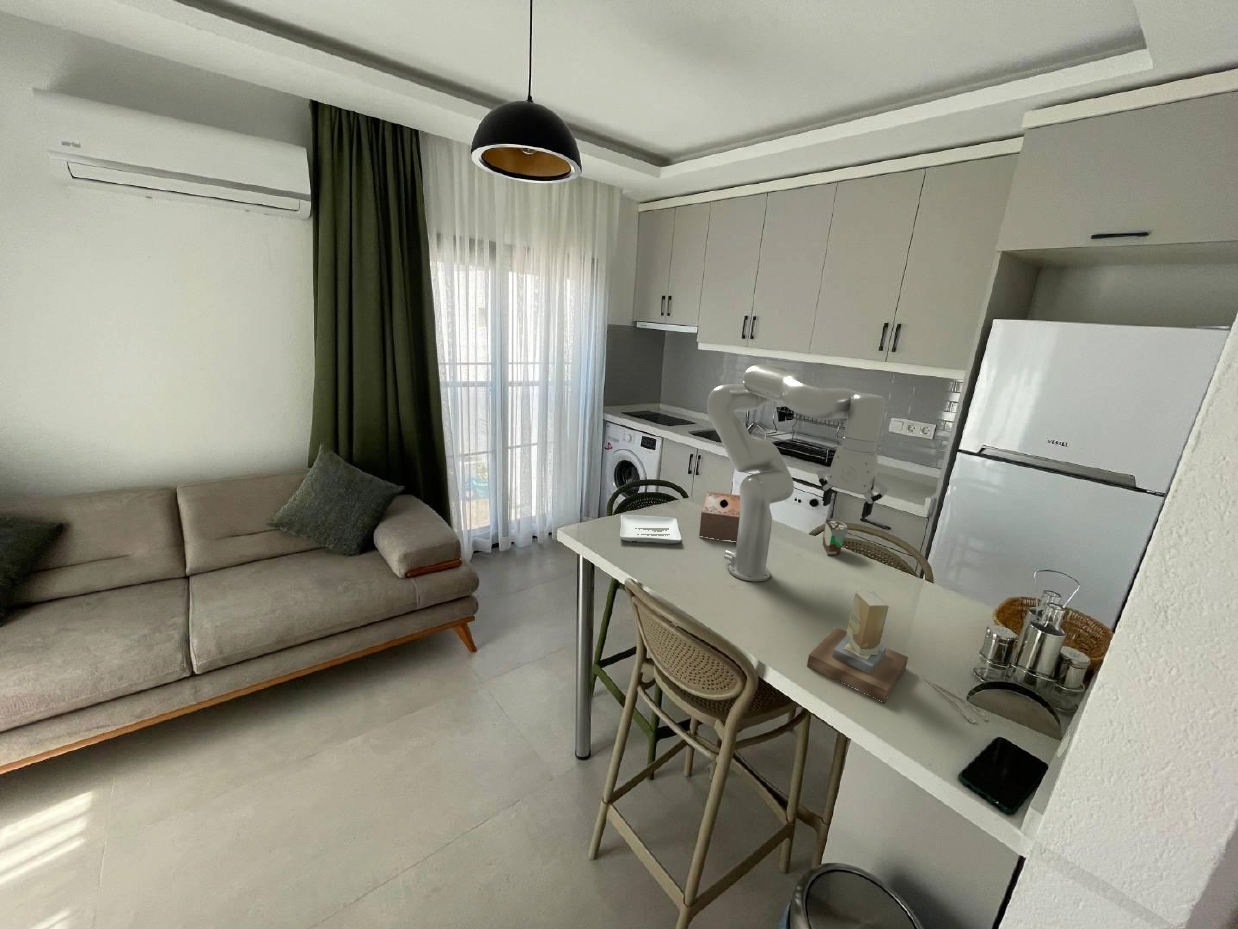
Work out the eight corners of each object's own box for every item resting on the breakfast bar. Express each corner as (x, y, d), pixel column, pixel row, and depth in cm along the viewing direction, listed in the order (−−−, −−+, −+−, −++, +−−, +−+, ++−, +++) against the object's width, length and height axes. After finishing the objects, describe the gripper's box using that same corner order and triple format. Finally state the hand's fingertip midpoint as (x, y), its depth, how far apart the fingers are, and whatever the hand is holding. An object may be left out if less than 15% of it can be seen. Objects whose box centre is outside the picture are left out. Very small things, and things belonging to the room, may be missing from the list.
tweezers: (989, 723, 99) (991, 714, 99) (971, 727, 98) (972, 718, 98) (915, 671, 116) (916, 663, 115) (898, 674, 114) (899, 666, 114)
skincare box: (844, 638, 115) (853, 589, 112) (862, 638, 115) (872, 590, 112) (859, 656, 108) (870, 605, 105) (879, 656, 109) (889, 605, 106)
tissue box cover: (704, 514, 206) (707, 491, 203) (741, 519, 202) (744, 495, 200) (698, 538, 181) (701, 512, 179) (740, 544, 178) (743, 517, 176)
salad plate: (681, 548, 172) (682, 539, 171) (619, 545, 172) (619, 535, 171) (675, 525, 193) (676, 517, 192) (619, 522, 192) (620, 514, 192)
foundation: (806, 666, 113) (810, 646, 111) (833, 637, 124) (837, 619, 123) (884, 703, 102) (888, 681, 101) (905, 668, 114) (910, 648, 112)
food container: (847, 560, 169) (852, 532, 167) (828, 557, 170) (833, 529, 168) (839, 545, 181) (844, 519, 179) (821, 543, 182) (826, 517, 180)
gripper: (817, 439, 126) (805, 503, 131) (891, 455, 115) (875, 525, 119) (830, 435, 131) (818, 497, 136) (902, 451, 120) (886, 518, 125)
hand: (845, 510), depth 128 cm, fingers open, 9 cm apart
